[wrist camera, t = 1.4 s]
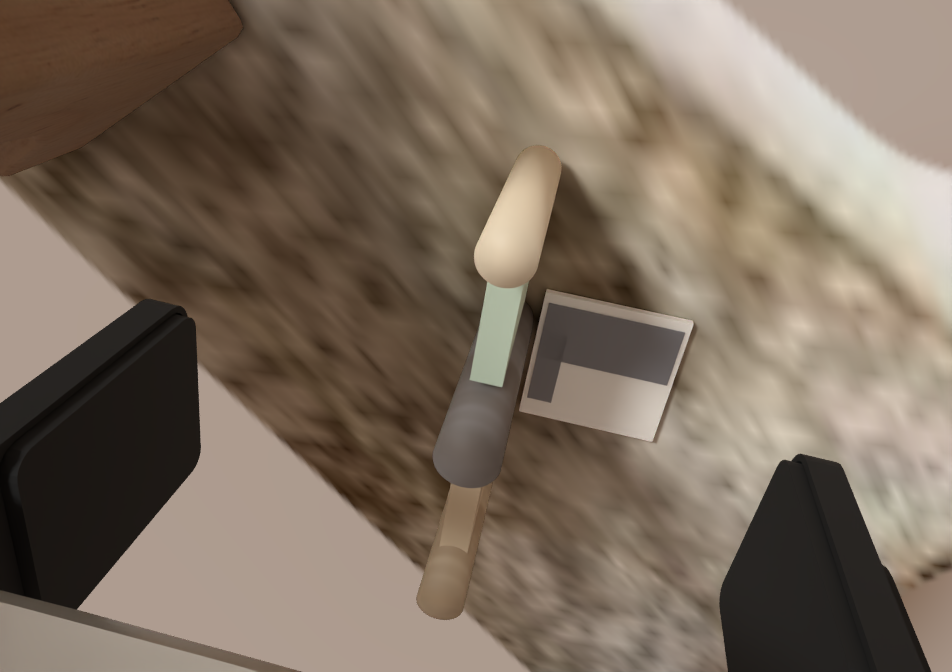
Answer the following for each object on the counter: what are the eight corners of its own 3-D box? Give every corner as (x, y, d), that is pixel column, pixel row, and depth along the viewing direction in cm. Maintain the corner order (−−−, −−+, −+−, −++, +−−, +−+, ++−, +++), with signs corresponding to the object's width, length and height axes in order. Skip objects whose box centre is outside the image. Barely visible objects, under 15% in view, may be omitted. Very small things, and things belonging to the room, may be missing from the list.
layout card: (652, 437, 30) (652, 442, 30) (519, 407, 30) (518, 411, 30) (692, 320, 27) (693, 324, 27) (546, 288, 28) (545, 292, 27)
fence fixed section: (502, 462, 32) (464, 631, 24) (458, 452, 32) (406, 616, 24) (538, 301, 28) (506, 441, 20) (487, 290, 28) (437, 425, 20)
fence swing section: (533, 300, 27) (503, 424, 20) (491, 291, 27) (447, 411, 20) (566, 150, 24) (545, 235, 17) (519, 141, 24) (479, 221, 18)
